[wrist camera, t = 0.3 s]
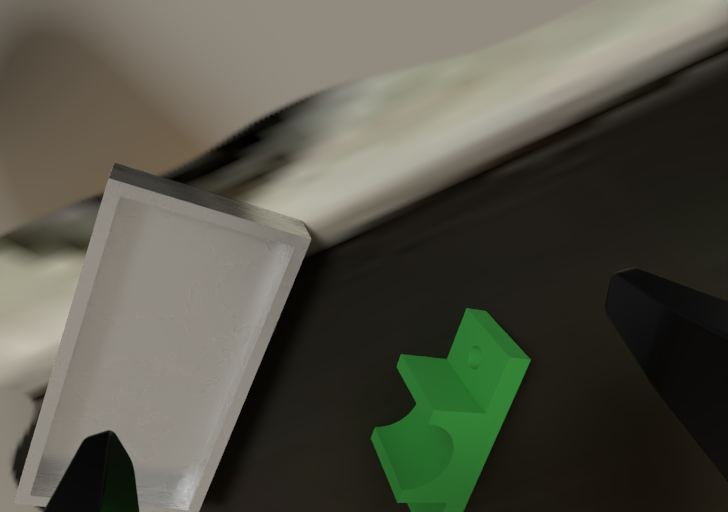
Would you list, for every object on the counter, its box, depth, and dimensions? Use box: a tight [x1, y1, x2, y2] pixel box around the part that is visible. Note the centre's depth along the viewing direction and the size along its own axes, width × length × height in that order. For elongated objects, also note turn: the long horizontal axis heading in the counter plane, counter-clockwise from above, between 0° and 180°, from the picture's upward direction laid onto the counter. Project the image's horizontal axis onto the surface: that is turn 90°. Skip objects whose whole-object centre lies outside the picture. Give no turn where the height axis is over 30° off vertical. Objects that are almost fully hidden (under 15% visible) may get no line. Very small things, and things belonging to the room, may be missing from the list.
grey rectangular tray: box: [14, 163, 311, 512], centre depth 24 cm, size 15×8×2 cm, turn 156°
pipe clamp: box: [371, 308, 531, 512], centre depth 28 cm, size 11×4×5 cm, turn 164°
